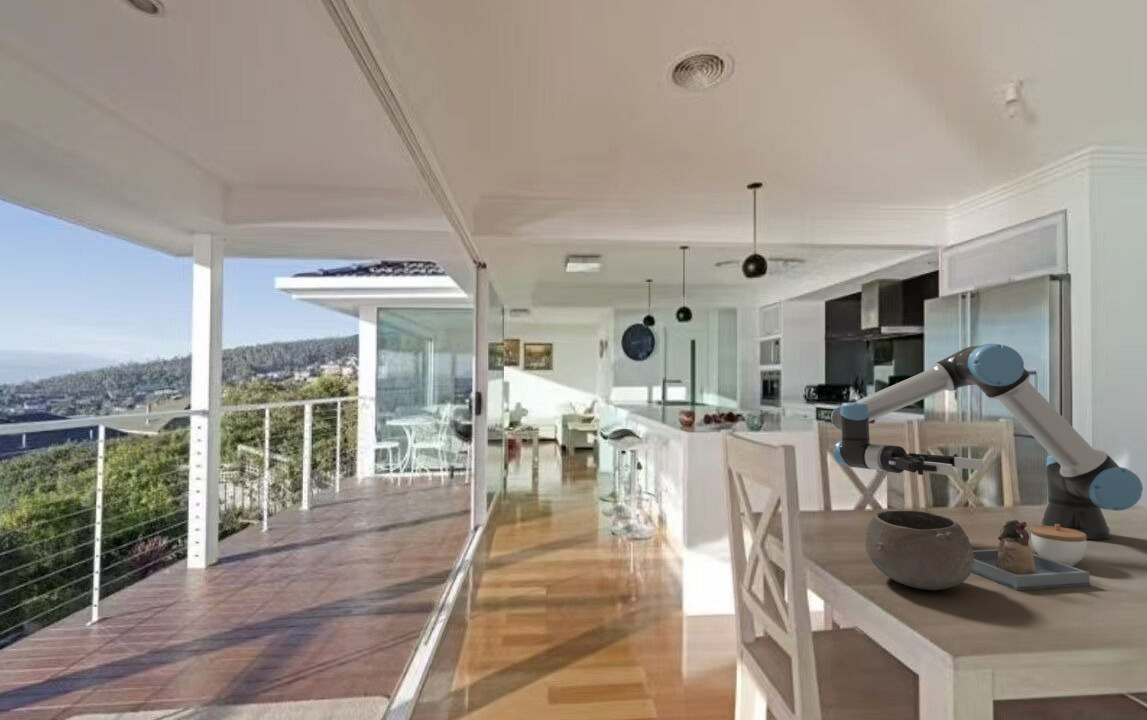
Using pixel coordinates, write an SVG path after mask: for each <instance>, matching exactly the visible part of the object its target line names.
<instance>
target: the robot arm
mask: <svg viewBox="0 0 1147 720" xmlns="http://www.w3.org/2000/svg"><path fill="white" fill-rule="evenodd" d="M1024 366H1025V363H1024V359H1023V357H1022V356H1021V354H1020V352H1018V351H1017V350H1015V348H1012V347H1010V346H1009V345H1004V344H1000V343H987V344H986V343H985V344H982V345H976V346H968V347H965V348H962V349H961V350H959V351H957V352H955V353H953V354H951V355H949V356H947V357H945V358H943V359H941V360H939V361H937V362H935V363H933V365H932V368H929V369H927V370H924V371H922V372H920V373H918V374H916V375H913V376H911V377H909V378H907V379H904V380H902V381H899V382H896V383H895V384H893V385H891V386H887V387H885V388H883V389H881V390H878V391H876V392H874V393H871V394H869V395H867V396H865V397H862V398H860V399H857V400H856V401H854V402H843V403H841V405H840V406H838V407H836V408H835V409H833V410H832V412H831V413H830V414H831V415H830V421H831V423H832V425H834V426H835V427H836V428H837V429H838V430H840V431H841V440H840V441H838V442H836V443H835V445H834V449H833V450H832V451H833V458H834V461H835V462H836V463H837V464H839V465H842V466H846V467H850V468H857V469H858V468H859V469H864V470H875V471H876V473H880V472H888V473H895V474H900V473H903V472H904V471H907V472H909V473H917V475H918V476H923V475H924V473H926V474H935V475H942V476H949V477H951V476H954V475H953V474H954V472H953V467H954V468H958V469H964V470H965V469H966V470H975V471H984V465H983V464H984V460H983V459H981V458H980V459H978V458H968V457H960V456H958V454H957V453H954V454H953V455H941V454H940V455H939V454H924V453H915V452H909V454H908V453H907V452H906V450H905V448H904V447H902V446H900V445H890V444H889V445H888V444H881V443H870V422H872V421H874V420H876V419H879V418H881V417H884V416H886V415H888V414H890V413H893V412H896V411H898V410H901V409H902V408H905V407H907V406H911V405H912V404H915V403H917V402H920V401H921V400H925V399H926V398H929V397H931V396H934V395H936V394H939V393H941V392H943V391H945V390H947V391H955V390H956V389H959V388H962V387H966V386H967V387H968V386H973V385H975V386H977V387H978V388H979V389H980V390H981V391H982V392H983V393H984V394H985V395H986V396H987V398H989V399H991V400H998V401H999V402H1000V403H1001V404H1002V405H1003V406H1004V407H1005V408H1006V409H1007V410H1008V411H1009V412H1010V413H1011V414H1012V416H1013V417H1014V418H1016V419H1017V421H1018V422H1019V423H1020V424H1021V425H1022V426H1023V427H1024V428H1025V429H1026V430H1027V431H1028V432H1029V434H1031V436H1033V438H1034V439H1035V440H1036V441H1037V442H1038V443H1039V444H1040V445H1041V446H1042V447H1043V448H1044V449H1045V450H1046V452H1048V454H1049V455H1048V456H1047V458H1046V465H1045V468H1046V480H1047V481H1046V484H1047V500H1048V502H1047V507H1046V509H1045V512H1044V516H1043V518H1042V519H1041V526H1055V524H1059V525H1060V527H1063V528H1069V529H1073V530H1077V531H1080V532H1083V533H1085V534H1086V535H1087V539H1086V540H1094V541H1095V540H1100V541H1101V540H1108V539H1110V538H1111V530H1110V527H1109V526H1108V523H1107V521H1106V518H1105V515H1104V514H1103V512H1102V510H1103V509H1104V510H1110V511H1117V512H1118V511H1125V510H1128V509H1131V508H1132V507H1134V506H1135V505H1136V504H1137V503H1138V502H1140V499H1141V497H1142V493H1143V490H1144V487H1143V482H1142V480H1141V478H1139V476H1138V475H1137V474H1136V473H1135V472H1133V471H1131V470H1130V469H1128V468H1125V467H1122V466H1119V465H1118V464H1117V462H1115V461H1114V460H1113V459H1112V457H1111V456H1110V455H1109V454H1107V452H1106V451H1104V450H1100V449H1094V448H1093V447H1092V446H1091V445H1090V444H1089V443H1088V442H1087V441H1086V440H1085V439H1084V437H1082V435H1081V434H1080V433H1079V432H1078V431H1077V430H1076V429H1075V428H1074V427H1073V426H1072V425H1071V424H1070V423H1069V422H1068V421H1067V420H1066V419H1065V418H1064V417H1063V416H1062V415H1061V414H1060V413H1059V411H1057V410H1056V408H1054V406H1053V405H1052V404H1051V403H1050V402H1049V401H1048V400H1047V399H1046V398H1045V397H1044V396H1043V395H1042V394H1041V393H1040V392H1039V391H1038V390H1037V388H1035V387H1034V386H1033V385H1032V384H1031V382H1030V379H1031V373H1029V371H1028V370H1027V369H1026V368H1025V367H1024Z"/></svg>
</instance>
